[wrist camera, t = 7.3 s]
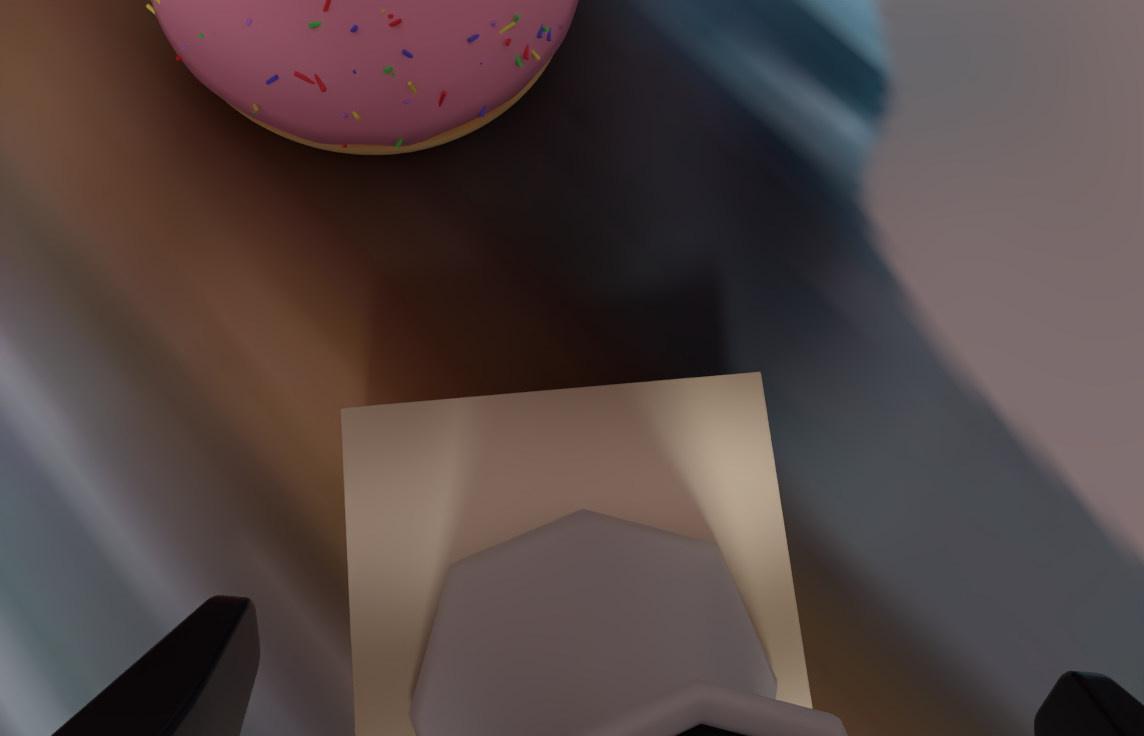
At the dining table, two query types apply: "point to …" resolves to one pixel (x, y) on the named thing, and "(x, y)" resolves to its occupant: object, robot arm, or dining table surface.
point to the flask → (600, 641)
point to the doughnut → (367, 64)
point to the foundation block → (552, 505)
